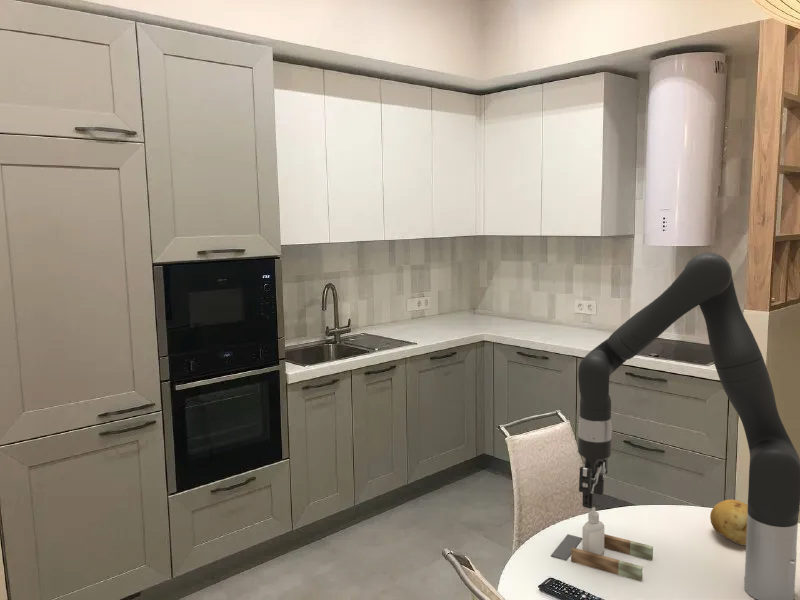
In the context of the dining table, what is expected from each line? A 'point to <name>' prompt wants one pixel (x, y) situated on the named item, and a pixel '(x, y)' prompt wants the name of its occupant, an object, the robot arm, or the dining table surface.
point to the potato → (730, 520)
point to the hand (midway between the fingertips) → (593, 500)
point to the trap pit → (566, 547)
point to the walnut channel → (614, 564)
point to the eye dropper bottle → (593, 534)
